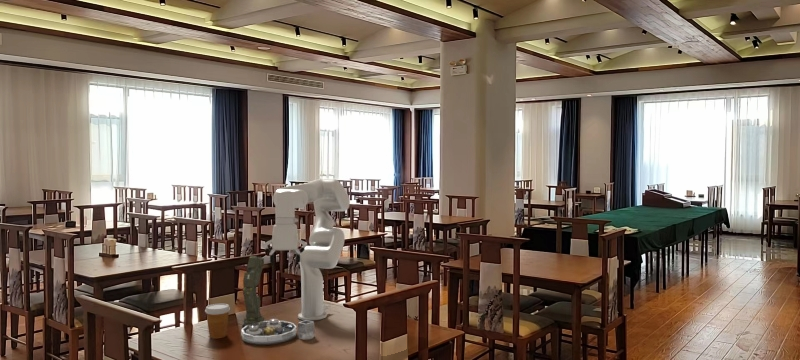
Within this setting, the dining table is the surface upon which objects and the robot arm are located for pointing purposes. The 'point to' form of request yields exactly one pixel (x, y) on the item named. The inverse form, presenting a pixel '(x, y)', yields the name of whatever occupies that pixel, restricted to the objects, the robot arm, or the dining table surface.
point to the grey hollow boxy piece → (306, 330)
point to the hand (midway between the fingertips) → (285, 264)
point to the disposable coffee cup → (217, 319)
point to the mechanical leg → (252, 290)
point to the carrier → (268, 332)
